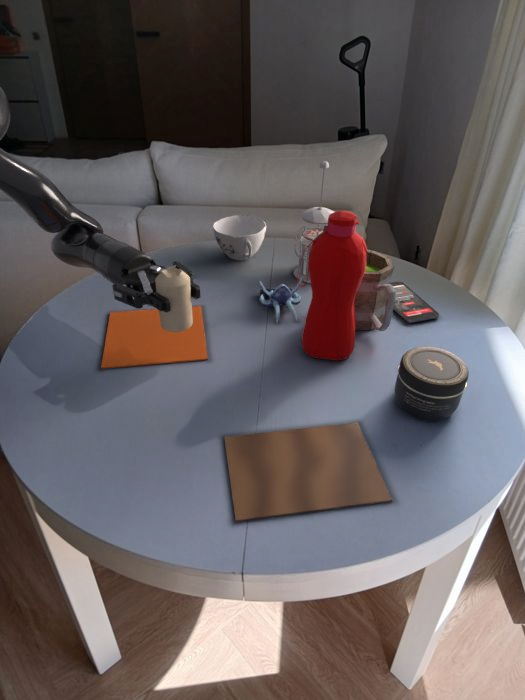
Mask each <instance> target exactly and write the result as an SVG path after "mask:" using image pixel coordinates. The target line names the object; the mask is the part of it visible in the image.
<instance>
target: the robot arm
mask: <svg viewBox="0 0 525 700" xmlns="http://www.w3.org/2000/svg"><path fill="white" fill-rule="evenodd" d="M10 123H11V105H10V101H9V99H8V97H7V94H6V92H5V91H4V89H3V88H2V87H1V86H0V141H1V140H2V139H3V138H4V137H5V135H6V133H7V131H8V129H9V126H10ZM0 191H1V192H2V193H3V194H5V195H6V196H7V197H8V198H9V199H11V200H12V202H14V203H15V204H16V205H17V206H18V207H19V208H20V209H21V210H22V211H23V212H24V213H25V214H26V215H27V216H28V217H29V218H30V219H31V220H33V222H34V223H35V224H36V225H37V226H38V227H39V228H40V229H42V230H43V231H45V232H47V233H49V234H54V235H53V237H52V238H51V241H50V249H51V251H52V253H53V255H54V256H55V257H56V258H57V259H58V260H59V261H61V262H62V263H64V264H67V265H69V266H72V267H77V268H85V269H92V270H93V271H95V272H96V273H98V274H100V275H101V276H102V277H103V278H104V279H105V280H106V281H108V282H110V283H112V286H111V287H112V293H113V299H114V300H116V301H118V302H120V303H123V304H125V305H127V306H129V307H132V308H134V309H136V310H140V309H142V308H143V307H144V306H145V305H146V306H147V307H152V308H154V309H158V310H160V311H164V312H166V313H167V312H169V311H171V307H170V301H169V299H167V298H165V297H164V296H162V295H160V294H159V293H157V291H156V282H155V279H156V277H157V276H158V275H159V274H160V273H161V272H162V271H163V270H168V269H169V268H170V267H175V268H177V269H181V270H182V271H183V272H185V273H186V274H187V275H188V276H189V277H190V287H191V299H194V300H198V299H201V286H200V285H199V284H196V283H195V282H194V273H193V271H192V270H190V268H188V267H187V266H186V265H184V264H183V263H182V262H180V261H177V260H174V261H173V262H172V266H168V267H166V265H165V266H164V265H160V264H157V263H156V261H155V260H154V259H153V258H152V256H150V255H149V254H147V253H145V252H143V251H141V250H139V249H137V248H136V247H134V246H132V245H130V244H128V243H126V242H123V241H119V240H117V239H116V238H113V237H112V236H110V235H108V234H106V233H104V229H103V226H102V225H101V224H100V222H99V221H98V220H96V218H93V217H92V216H90V215H88V214H87V213H85V212H83V211H81V210H80V209H79V208H77V207H76V206H75V205H73V204H72V203H71V202H70V201H69V200H68V199H67V198H66V197H65V195H64V194H63V193H62V192H61V191H60V189H59V188H58V187H57V186H56V185H55V184H54V183H53V181H52V180H51V179H49V178H48V176H46V175H44V174H43V173H42V172H41V171H39V170H37V169H36V168H35V167H32V166H30V165H29V164H27V163H26V162H24V161H22V160H20V159H19V158H17V157H15V156H13V155H12V154H10V153H9V152H7V151H6V150H4V149H2V148H1V147H0Z"/></svg>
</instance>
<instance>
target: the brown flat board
mask: <svg viewBox="0 0 525 700" xmlns="http://www.w3.org/2000/svg"><path fill="white" fill-rule="evenodd" d="M223 441H224V447H225V454H226V455H225V456H226V461H227V469H228V477H229V484H230V491H231V498H232V499H231V500H232V506H233V513H234V519H235V522H244V521H245V522H246V521H251V520H259V519H266V518H274V517H282V516H283V517H284V516H290V515H297V514H306V513H313V512H321V511H327V510H336V509H344V508H351V507H358V506H367V505H373V504H381V503H389V502H393V498H392V496H391V493H390V491H389V489H388V486H387V484H386V482H385V480H384V478H383V475H382V474H381V471H380V469H379V467H378V465H377V462H376V460H375V458H374V456H373V453H372V451H371V449H370V447H369V444H368V443H367V441H366V438H365V436H364V434H363V431H362V429H361V427H360V425H359V422H352V423H351V422H350V423H341V424H340V423H339V424H332V425H322V426H321V425H320V426H312V427H302V428H295V429H286V430H275V431H274V430H273V431H266V432H257V433H247V434H238V435H229V436H224V437H223Z"/></svg>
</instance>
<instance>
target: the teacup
mask: <svg viewBox="0 0 525 700" xmlns="http://www.w3.org/2000/svg"><path fill="white" fill-rule="evenodd" d="M212 230H213V234H214V238H215V241H216V244H217V246H219V248H220V250H221V251H222V252H223V253H224V254H225V255H227V257H228V258H230V259H232V260H234V261H245V260H249V259H250V258H252V257H253V256H254V255H255V254H256V253H257V252H258V251H259V250H260V248H261V247H262V244H263V242H264V240H265V236H266V233H267V232H266V231H267V223H266V222H265V221H264V220H263V219H262V218H259V217H255V216H251V215H244V214H242V215H241V214H239V215H231V216H226V217H222V218H220V219H219V220H217V221H215V222H214V223H213V224H212Z"/></svg>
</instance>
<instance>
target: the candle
mask: <svg viewBox="0 0 525 700" xmlns="http://www.w3.org/2000/svg"><path fill="white" fill-rule="evenodd" d="M169 267H170V268H169V269H168V270H163V271H162V272H161V273H160V274H159V275H158V276H157V277H156V279H155V282H156V291H157V293H159V294H160V295H162V296H164V297H165V298H167V299H169V301H170V307H171V311H169V312H167V313H166V312H164V311H160V310H159V317H160V324H161V327H162V328H163V329H164V330H166V331H170V332H181V331H184V330H187V329H189V328H190V327H191V326H192V323H193V316H192V307H193V303H192V302H193V301H192V297H191V287H190V277H189V276H188V275H187V274H186V273H185V272H183V271H182V270H181V269H177V268H175V267H171V266H169Z"/></svg>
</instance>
